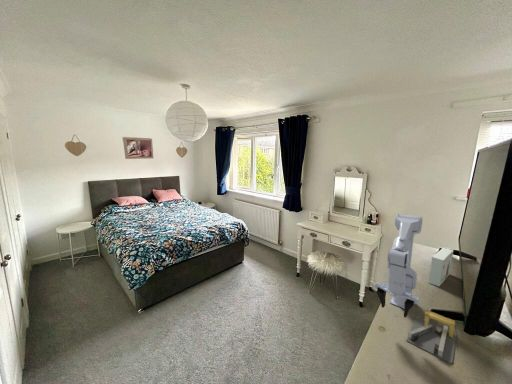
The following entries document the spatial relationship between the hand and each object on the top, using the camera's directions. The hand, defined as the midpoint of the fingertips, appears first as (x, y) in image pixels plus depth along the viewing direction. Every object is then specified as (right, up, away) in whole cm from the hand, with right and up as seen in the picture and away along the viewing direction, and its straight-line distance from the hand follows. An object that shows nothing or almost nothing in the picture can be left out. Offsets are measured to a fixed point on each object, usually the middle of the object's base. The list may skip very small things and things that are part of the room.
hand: (393, 311), depth 84 cm
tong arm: (+10, -9, -1) cm, 13 cm away
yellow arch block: (+19, -9, +1) cm, 21 cm away
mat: (+14, -9, -2) cm, 17 cm away
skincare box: (+52, -3, +38) cm, 64 cm away
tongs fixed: (+15, -9, -4) cm, 18 cm away
